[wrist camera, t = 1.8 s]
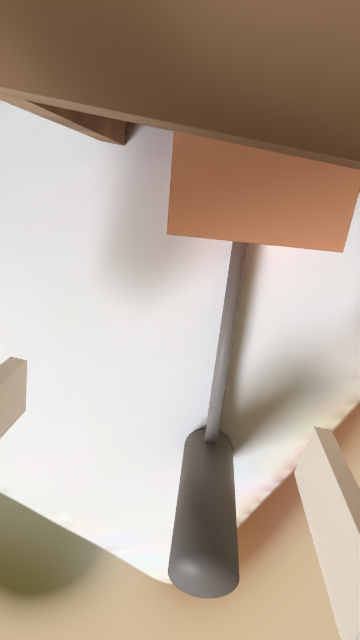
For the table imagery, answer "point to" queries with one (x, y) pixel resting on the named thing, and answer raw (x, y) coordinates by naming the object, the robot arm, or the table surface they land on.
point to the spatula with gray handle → (242, 228)
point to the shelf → (191, 70)
